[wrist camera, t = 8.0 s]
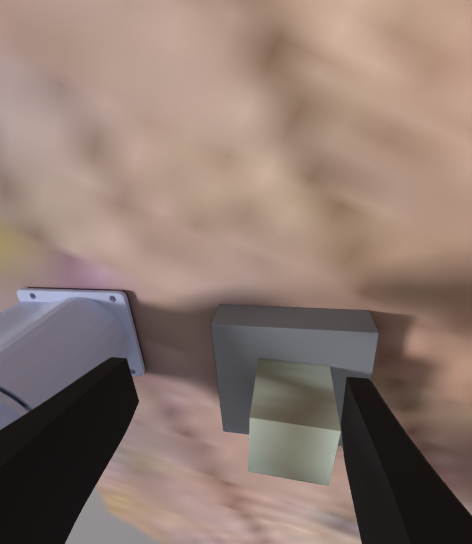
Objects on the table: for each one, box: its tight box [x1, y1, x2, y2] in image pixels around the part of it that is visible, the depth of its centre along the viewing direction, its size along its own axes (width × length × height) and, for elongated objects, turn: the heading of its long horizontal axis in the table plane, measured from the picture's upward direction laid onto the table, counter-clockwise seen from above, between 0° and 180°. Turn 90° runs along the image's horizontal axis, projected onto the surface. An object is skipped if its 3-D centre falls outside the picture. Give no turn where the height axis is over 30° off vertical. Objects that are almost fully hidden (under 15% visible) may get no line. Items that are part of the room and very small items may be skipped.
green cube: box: [248, 358, 341, 486], centre depth 17 cm, size 4×4×4 cm
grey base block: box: [211, 304, 379, 446], centre depth 21 cm, size 10×10×3 cm
